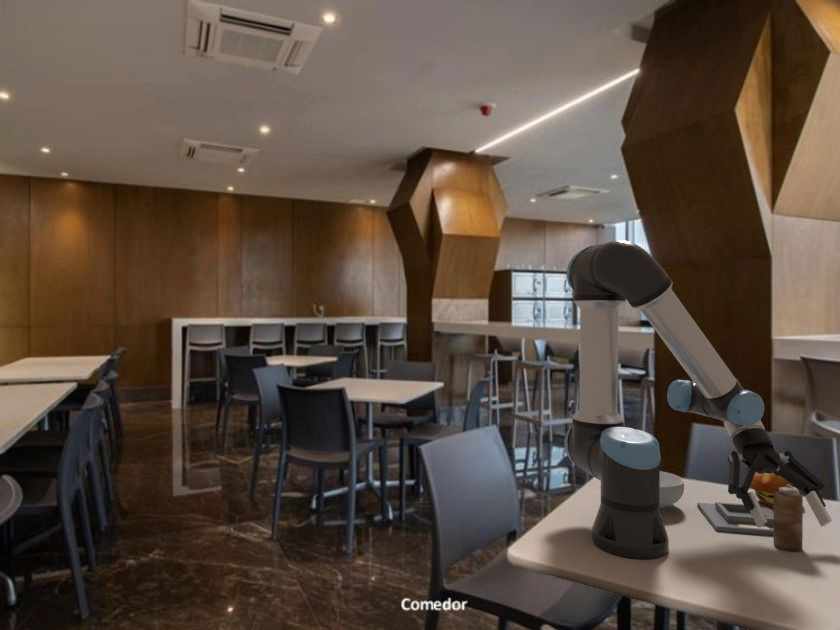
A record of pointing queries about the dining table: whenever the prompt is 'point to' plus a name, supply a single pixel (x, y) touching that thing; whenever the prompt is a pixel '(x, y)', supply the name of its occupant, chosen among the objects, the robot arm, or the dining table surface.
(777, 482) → the cheeseburger
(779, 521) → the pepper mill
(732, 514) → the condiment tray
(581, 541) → the dining table surface
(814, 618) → the dining table surface
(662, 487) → the cereal bowl
